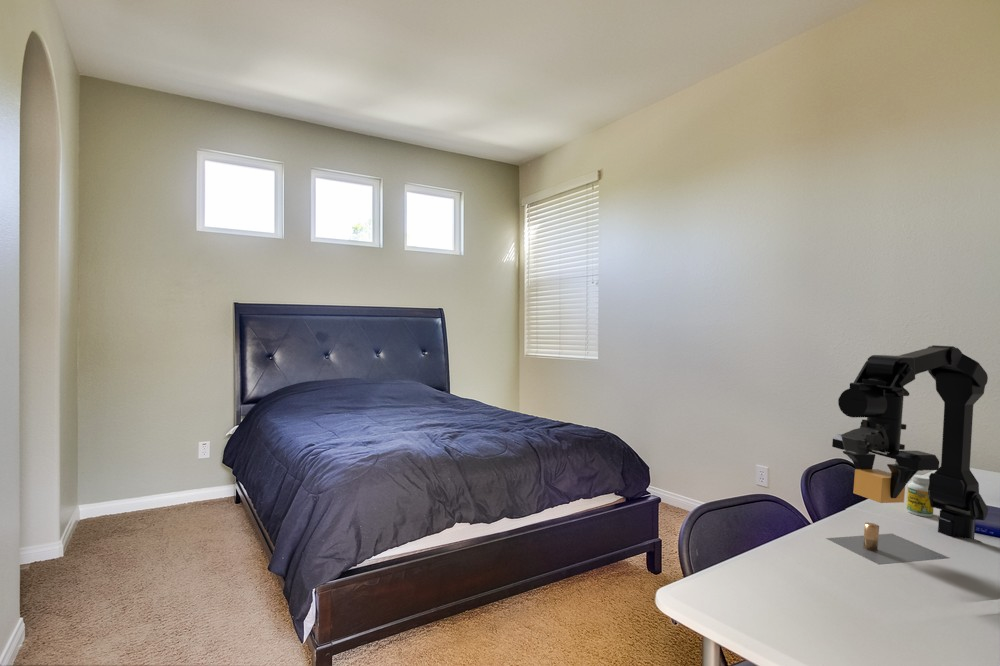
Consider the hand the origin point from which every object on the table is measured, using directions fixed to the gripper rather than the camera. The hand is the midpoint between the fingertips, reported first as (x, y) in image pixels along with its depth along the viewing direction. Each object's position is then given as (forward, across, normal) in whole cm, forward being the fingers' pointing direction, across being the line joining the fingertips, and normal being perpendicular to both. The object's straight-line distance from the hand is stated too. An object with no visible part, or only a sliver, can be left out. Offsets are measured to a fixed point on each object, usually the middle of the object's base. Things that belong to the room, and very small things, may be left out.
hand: (878, 492), depth 108 cm
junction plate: (+13, 0, +3) cm, 13 cm away
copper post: (+12, 0, -1) cm, 12 cm away
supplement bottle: (+12, -19, +37) cm, 44 cm away
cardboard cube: (+1, 0, 0) cm, 1 cm away
